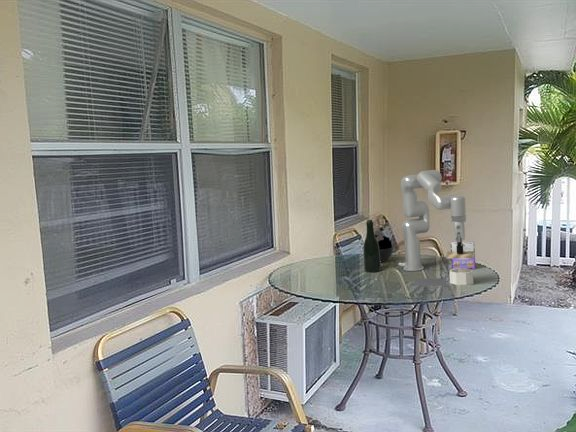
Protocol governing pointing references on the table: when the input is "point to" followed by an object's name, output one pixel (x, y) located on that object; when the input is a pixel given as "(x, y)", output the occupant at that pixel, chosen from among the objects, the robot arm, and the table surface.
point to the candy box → (463, 262)
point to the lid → (460, 254)
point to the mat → (429, 282)
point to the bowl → (461, 276)
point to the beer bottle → (371, 250)
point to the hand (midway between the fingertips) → (460, 252)
